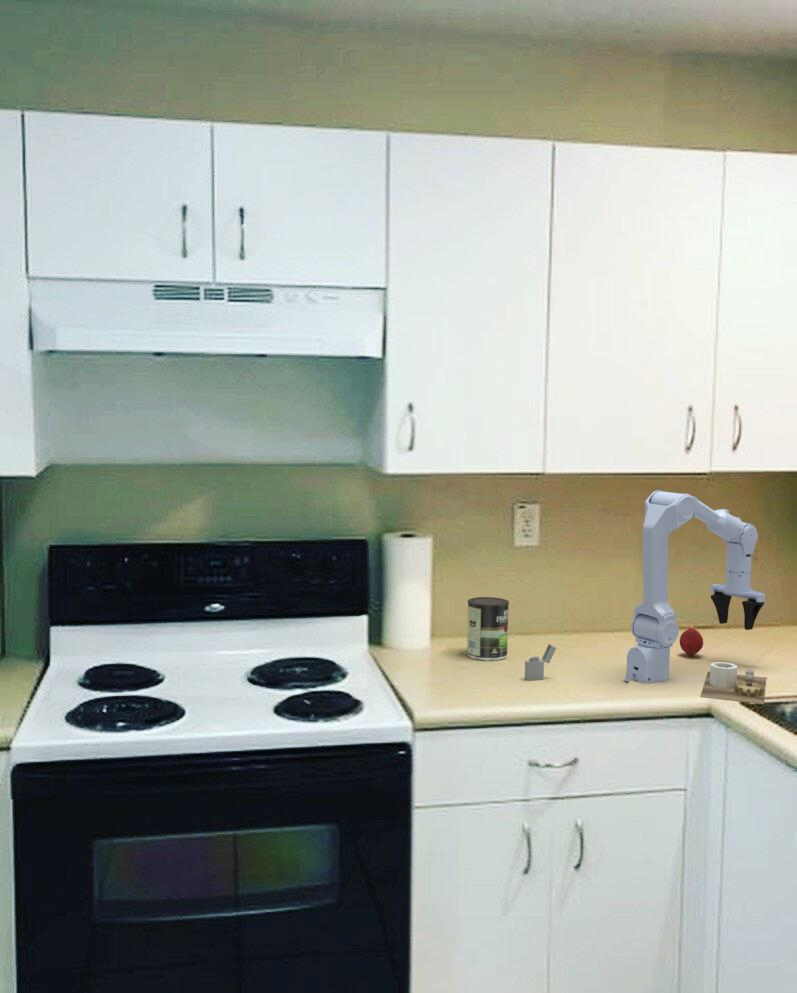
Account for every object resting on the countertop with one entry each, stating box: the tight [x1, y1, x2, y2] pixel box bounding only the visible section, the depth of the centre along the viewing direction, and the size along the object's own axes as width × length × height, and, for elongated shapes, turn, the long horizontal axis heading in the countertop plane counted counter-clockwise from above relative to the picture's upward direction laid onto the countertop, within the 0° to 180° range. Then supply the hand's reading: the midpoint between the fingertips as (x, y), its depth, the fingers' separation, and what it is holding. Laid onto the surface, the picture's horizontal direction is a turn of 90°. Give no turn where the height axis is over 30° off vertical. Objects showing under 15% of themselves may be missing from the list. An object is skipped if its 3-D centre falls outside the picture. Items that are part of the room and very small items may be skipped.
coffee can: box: [466, 596, 510, 662], centre depth 257 cm, size 10×10×14 cm
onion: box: [679, 624, 704, 657], centre depth 259 cm, size 6×6×8 cm
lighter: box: [524, 643, 557, 682], centre depth 237 cm, size 7×2×8 cm, turn 105°
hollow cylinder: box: [709, 661, 738, 688], centre depth 230 cm, size 6×6×4 cm
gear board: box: [699, 668, 767, 705], centre depth 228 cm, size 22×13×4 cm, turn 159°
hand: (735, 626), depth 249 cm, fingers open, 7 cm apart
